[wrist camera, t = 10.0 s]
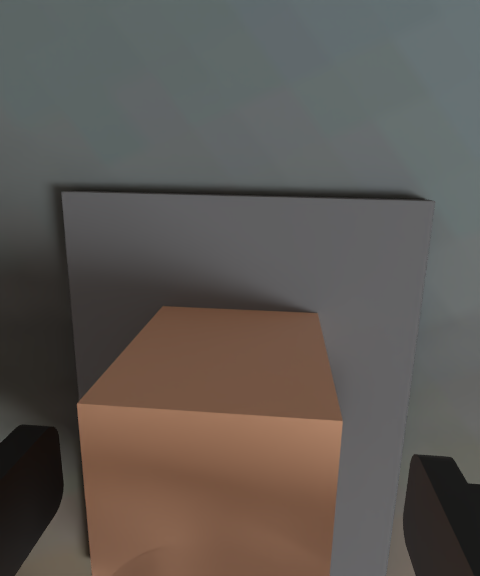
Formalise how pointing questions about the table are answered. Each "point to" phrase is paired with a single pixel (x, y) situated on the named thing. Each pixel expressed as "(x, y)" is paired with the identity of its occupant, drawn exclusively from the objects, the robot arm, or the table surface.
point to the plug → (213, 448)
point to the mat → (272, 308)
